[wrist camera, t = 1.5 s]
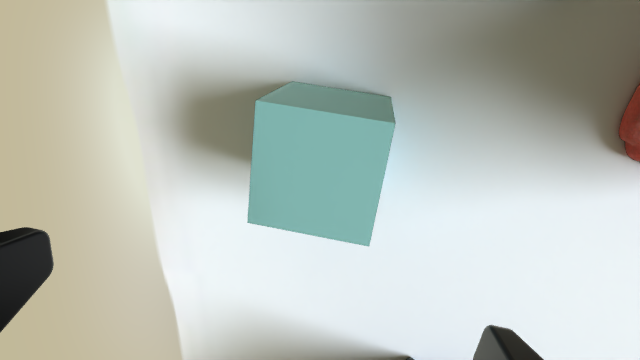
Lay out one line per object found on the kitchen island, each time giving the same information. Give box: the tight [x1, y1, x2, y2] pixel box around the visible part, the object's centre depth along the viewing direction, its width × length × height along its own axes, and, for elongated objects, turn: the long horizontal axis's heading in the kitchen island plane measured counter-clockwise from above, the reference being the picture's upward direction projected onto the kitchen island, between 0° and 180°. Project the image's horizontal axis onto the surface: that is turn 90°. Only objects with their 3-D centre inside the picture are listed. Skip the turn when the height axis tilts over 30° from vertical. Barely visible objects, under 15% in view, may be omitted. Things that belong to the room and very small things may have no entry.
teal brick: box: [248, 81, 395, 246], centre depth 17 cm, size 5×5×6 cm
